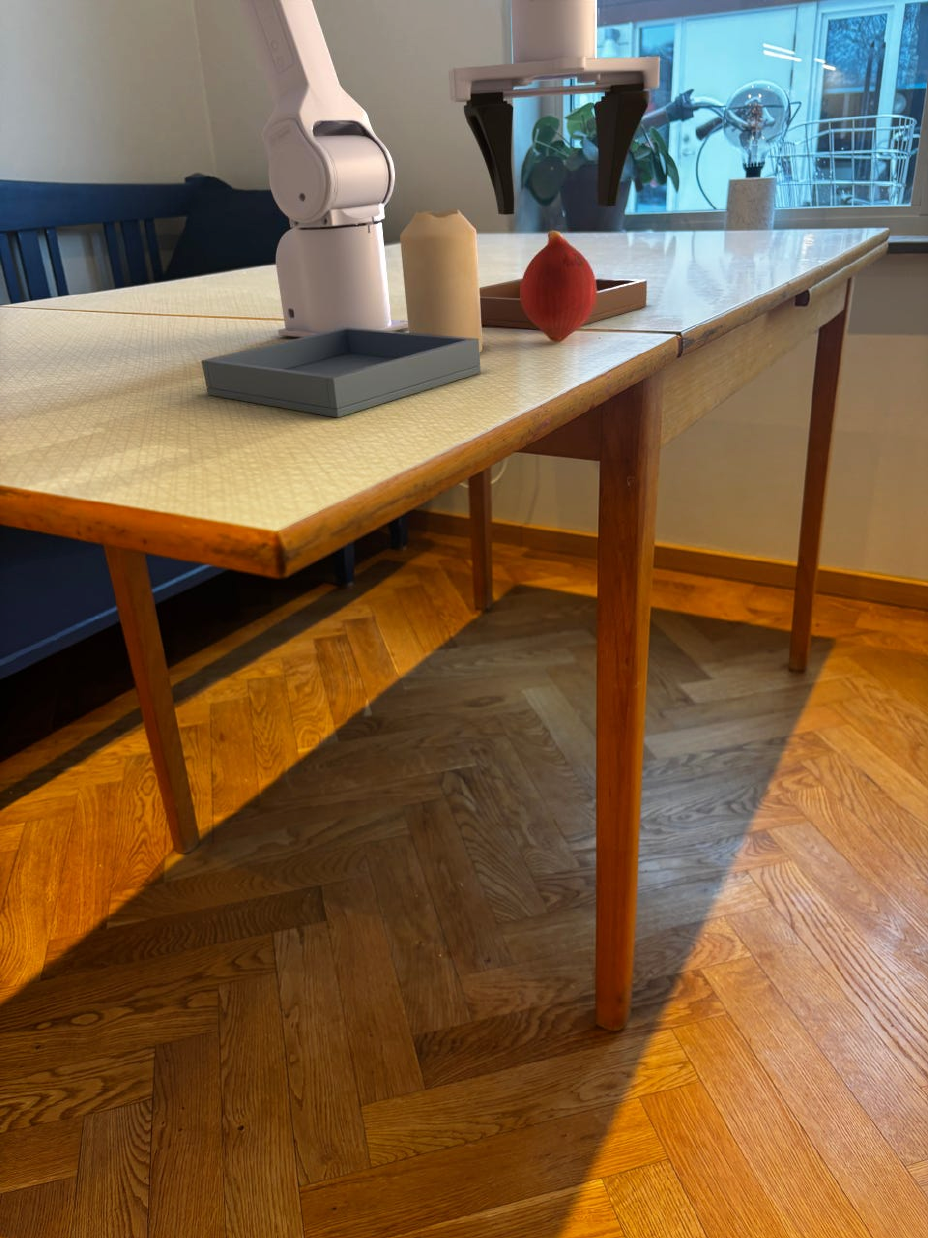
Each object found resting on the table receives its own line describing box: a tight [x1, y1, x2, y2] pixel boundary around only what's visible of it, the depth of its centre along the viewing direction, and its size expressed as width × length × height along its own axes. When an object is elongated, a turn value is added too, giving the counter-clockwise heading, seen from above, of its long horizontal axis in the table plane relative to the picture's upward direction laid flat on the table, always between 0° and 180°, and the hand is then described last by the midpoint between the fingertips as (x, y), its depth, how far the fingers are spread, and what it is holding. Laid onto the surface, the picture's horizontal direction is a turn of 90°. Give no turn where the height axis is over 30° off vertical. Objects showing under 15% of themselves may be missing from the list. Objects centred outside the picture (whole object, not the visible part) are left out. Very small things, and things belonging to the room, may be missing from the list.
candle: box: [399, 208, 483, 353], centre depth 68 cm, size 6×6×10 cm
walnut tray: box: [479, 278, 648, 330], centre depth 83 cm, size 13×13×2 cm
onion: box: [520, 230, 597, 343], centre depth 69 cm, size 6×6×8 cm
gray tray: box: [201, 327, 482, 418], centre depth 62 cm, size 13×13×2 cm
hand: (557, 209), depth 67 cm, fingers open, 7 cm apart
